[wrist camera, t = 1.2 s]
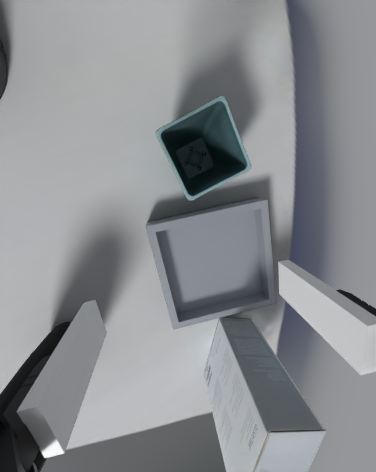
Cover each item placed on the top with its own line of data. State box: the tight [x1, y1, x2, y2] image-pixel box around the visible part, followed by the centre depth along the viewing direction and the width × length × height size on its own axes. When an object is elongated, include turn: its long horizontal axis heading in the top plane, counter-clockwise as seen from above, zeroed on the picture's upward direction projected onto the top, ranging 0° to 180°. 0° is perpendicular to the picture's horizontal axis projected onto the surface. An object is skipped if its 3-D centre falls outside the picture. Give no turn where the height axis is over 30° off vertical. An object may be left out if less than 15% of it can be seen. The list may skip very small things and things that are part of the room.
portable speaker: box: [0, 322, 71, 472], centre depth 29 cm, size 9×9×20 cm
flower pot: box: [156, 96, 251, 201], centre depth 28 cm, size 9×9×9 cm
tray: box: [146, 197, 276, 329], centre depth 35 cm, size 19×19×4 cm
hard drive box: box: [204, 317, 326, 472], centre depth 34 cm, size 16×8×20 cm, turn 169°
